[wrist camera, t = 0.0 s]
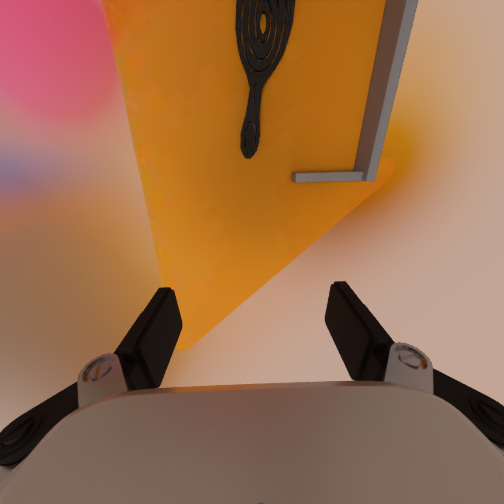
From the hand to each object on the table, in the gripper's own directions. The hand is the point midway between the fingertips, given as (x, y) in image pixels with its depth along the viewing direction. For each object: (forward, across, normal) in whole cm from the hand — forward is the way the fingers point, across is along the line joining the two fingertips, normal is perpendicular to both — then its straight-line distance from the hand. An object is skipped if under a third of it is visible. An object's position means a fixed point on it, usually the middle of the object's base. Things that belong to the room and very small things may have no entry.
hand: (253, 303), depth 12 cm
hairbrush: (+32, -2, -20) cm, 38 cm away
